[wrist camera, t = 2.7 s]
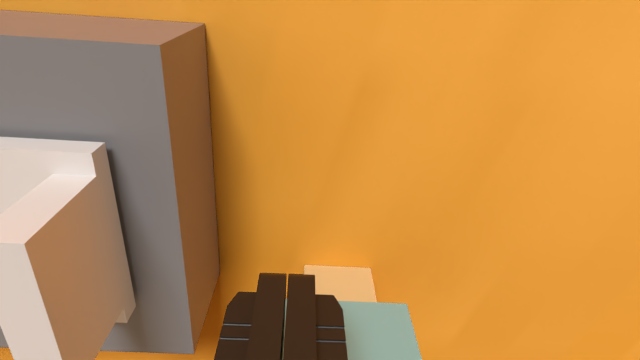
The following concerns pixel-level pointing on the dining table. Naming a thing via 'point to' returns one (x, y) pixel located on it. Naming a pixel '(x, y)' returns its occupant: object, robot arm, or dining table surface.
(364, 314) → the plug
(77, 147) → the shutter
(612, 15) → the dining table surface
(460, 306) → the dining table surface
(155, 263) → the socket
